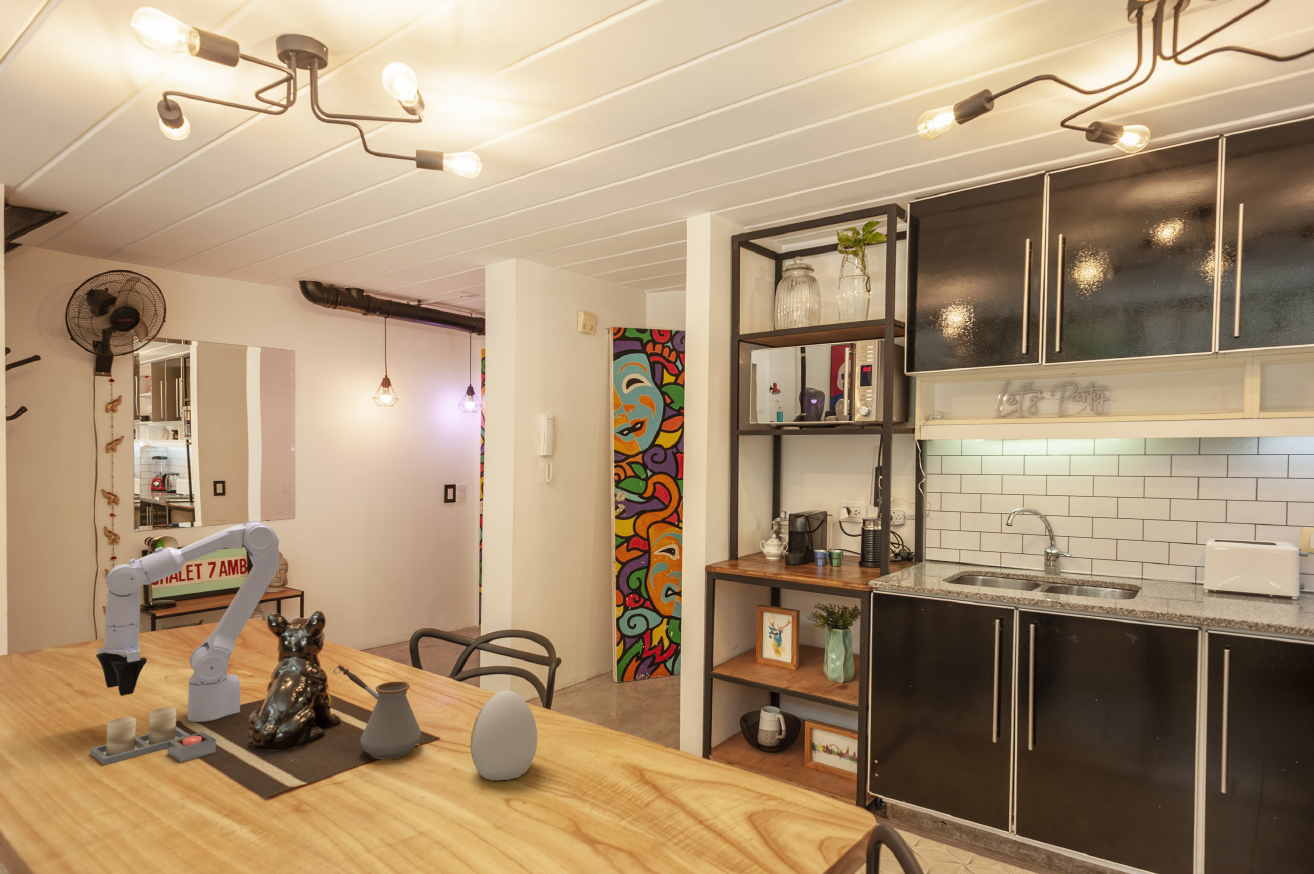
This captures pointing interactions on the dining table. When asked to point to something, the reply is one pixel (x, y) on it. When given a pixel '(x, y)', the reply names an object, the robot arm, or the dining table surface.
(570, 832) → the dining table surface
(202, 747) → the button housing
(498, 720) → the decorative egg
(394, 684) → the coffee pot
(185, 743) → the button
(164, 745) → the shallow grey tray
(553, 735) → the dining table surface
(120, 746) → the billet
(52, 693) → the dining table surface
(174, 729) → the cylinder
